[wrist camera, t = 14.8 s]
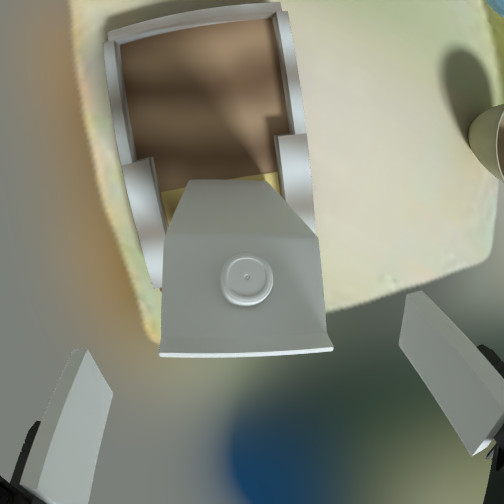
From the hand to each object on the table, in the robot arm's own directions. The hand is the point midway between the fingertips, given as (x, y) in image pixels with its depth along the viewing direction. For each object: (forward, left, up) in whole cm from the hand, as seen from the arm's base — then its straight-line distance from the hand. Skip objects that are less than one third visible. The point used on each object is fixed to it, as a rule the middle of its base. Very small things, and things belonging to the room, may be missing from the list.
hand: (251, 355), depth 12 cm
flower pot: (-27, +19, -21) cm, 39 cm away
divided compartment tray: (-4, -5, -21) cm, 21 cm away
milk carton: (0, 0, -19) cm, 19 cm away
